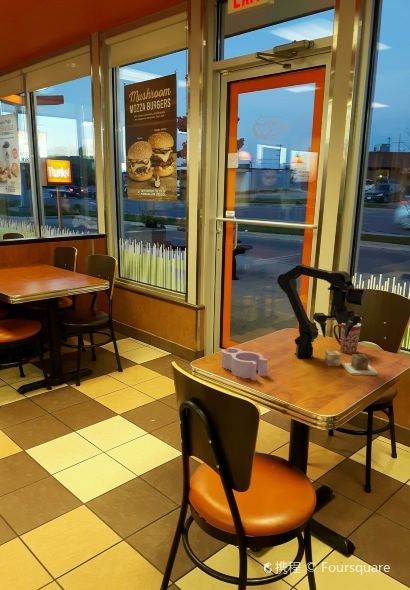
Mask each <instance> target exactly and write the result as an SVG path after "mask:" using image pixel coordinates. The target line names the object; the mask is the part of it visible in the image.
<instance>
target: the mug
mask: <svg viewBox="0 0 410 590" xmlns="http://www.w3.org/2000/svg"><path fill="white" fill-rule="evenodd" d="M345 324H346V323H341V324H339V323H337V324H335V325H333V328H332V329H333V331H332V332H333V336H334V338H335V340H336V342H337V343H338V345H339V346H340V347H339V351H340V352H341V353H344V354H347V355H348V354H349V355H352V354H357V351H358V345H359V339H360V333H361V326H362V323H357V325H354V326H353V327H352V328H351V330H350V332H349V334H348V336H347V338H345ZM337 327H338V328H339V329H340V339H339V337H338V334H337V332H336V329H337Z"/></svg>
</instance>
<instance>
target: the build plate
mask: <svg viewBox="0 0 410 590" xmlns="http://www.w3.org/2000/svg"><path fill="white" fill-rule="evenodd" d="M340 366H342V367H343V368H344V369H345V370H346V371H347V372H348V374H350V375H351V376H355V375H356V376H357V375H359V376H362V375H368V376H370V375H371V376H373V375H375V376H376V375H377V376H378V375H379V372H378V371H377V370H375V368H374V367H372V366H371V365H369V364H368V370H355V369H354V368H353V367H352V366H351V362H342V363H340Z"/></svg>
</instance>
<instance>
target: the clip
mask: <svg viewBox="0 0 410 590" xmlns="http://www.w3.org/2000/svg"><path fill="white" fill-rule="evenodd" d="M220 356H221V359H220V360H221V362H220V364H221V365H220V367H221V366H222V367H223V368H222V367H221V368H222V369H224V368H226V369H225V370H227V369H229V370H228V371H230V370H231V371H232V372H231V371H230V372H231V374H232V375H233V374H234V375H235V377H237V376H238V377H237V378H240V377H242V378H241V379H246V378H251V379H250V380H251V381H257V372H258V376H259V377H260V376H261V377H267V376H268V375H267V374H268V358H264V356H263V355H262V354H260V353H258V352H253V351H244V350H242V349H240V348H238V347H237V348H236V347H228V348H227V351H226V349H224V348H223V349H221V355H220ZM234 375H233V376H234Z"/></svg>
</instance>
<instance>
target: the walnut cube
mask: <svg viewBox="0 0 410 590" xmlns="http://www.w3.org/2000/svg"><path fill="white" fill-rule="evenodd" d="M369 360H370V358H369V357H368V356H367V355H366V354H364V353H355V354H351V361H350V363H351V366H352V367H353V368H354V369H355V370H368V365H369Z"/></svg>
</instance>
